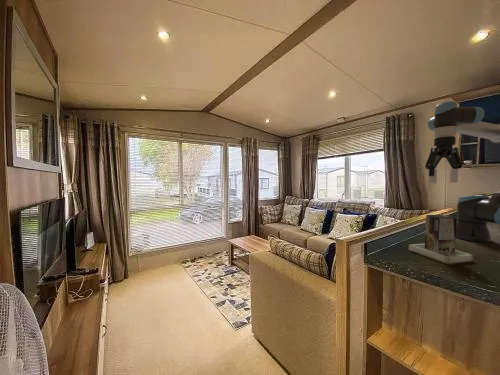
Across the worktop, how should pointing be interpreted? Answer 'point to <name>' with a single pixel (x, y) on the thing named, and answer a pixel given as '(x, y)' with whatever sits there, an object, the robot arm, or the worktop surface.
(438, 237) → the coffee box
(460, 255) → the tray
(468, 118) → the robot arm
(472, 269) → the worktop surface
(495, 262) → the worktop surface
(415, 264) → the worktop surface
